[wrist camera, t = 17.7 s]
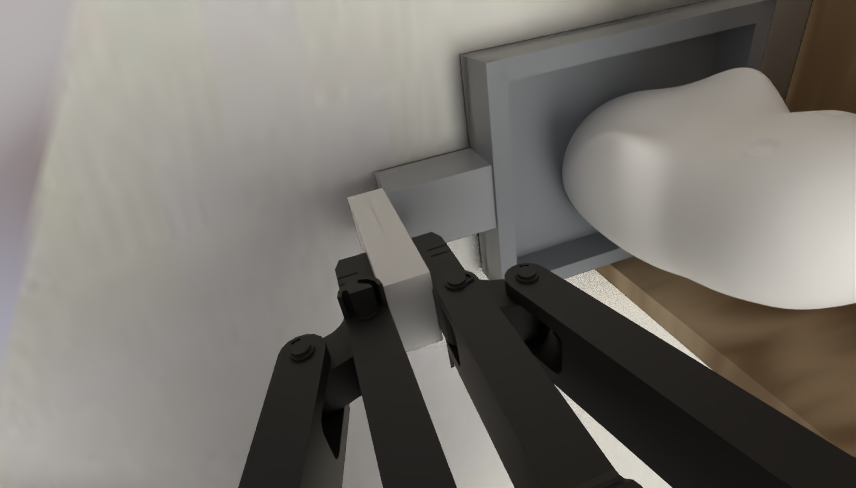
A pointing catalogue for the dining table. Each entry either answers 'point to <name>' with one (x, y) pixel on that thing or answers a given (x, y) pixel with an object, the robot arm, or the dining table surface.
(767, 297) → the figurine
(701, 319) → the box
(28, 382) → the dining table surface
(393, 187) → the tray
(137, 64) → the dining table surface
